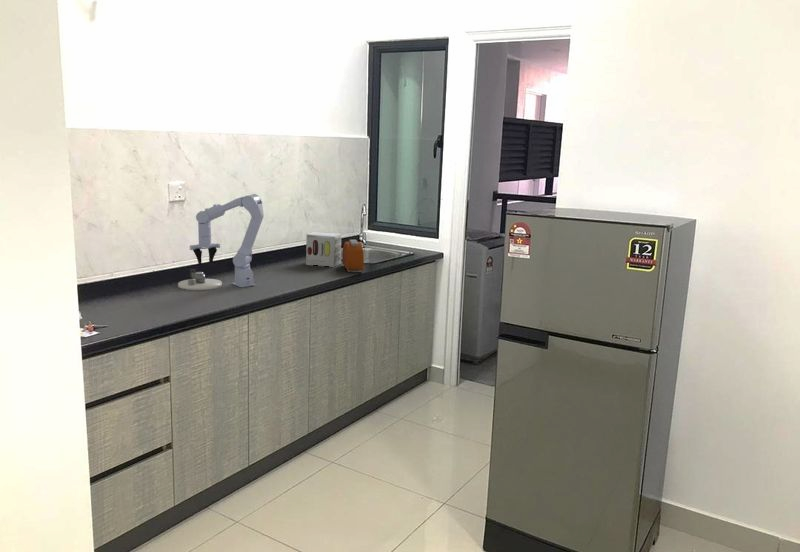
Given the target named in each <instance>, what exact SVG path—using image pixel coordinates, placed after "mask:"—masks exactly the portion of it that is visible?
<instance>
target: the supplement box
mask: <svg viewBox="0 0 800 552" xmlns="http://www.w3.org/2000/svg"><path fill="white" fill-rule="evenodd" d="M305 242H306V245H305V246H306V247H305V249H306V250H305V251H306V253H305V254H306V255H305V265H306V266H313V265H318V266H317V267H324V266H329V267H328V268H336V267H338V266H339V264H340V265H341V264H342V233H339V232H324V231H323V232H322V231H312V232H309V233H306V241H305ZM337 265H338V266H337ZM335 266H336V267H335Z"/></svg>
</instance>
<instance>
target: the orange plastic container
mask: <svg viewBox="0 0 800 552" xmlns="http://www.w3.org/2000/svg"><path fill="white" fill-rule="evenodd" d="M364 256H365V255H364V247H363V244H362V242H360V241H357V239H349V240H348V241H345V242H344V243H343V246H342V253H341V263H342V265H343V267H344V266H345V267H344V268H345V269H346V270H347V271H348V272H347V271H346V272H347V273H362V271H364V264H365V258H364Z"/></svg>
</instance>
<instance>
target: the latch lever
mask: <svg viewBox="0 0 800 552" xmlns="http://www.w3.org/2000/svg"><path fill="white" fill-rule="evenodd" d="M189 278H190V279H195V282H196V283H205V279H206V274H205V273H204V272H203V271H196V269H194V268H191V269H189Z"/></svg>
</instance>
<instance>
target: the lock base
mask: <svg viewBox="0 0 800 552" xmlns="http://www.w3.org/2000/svg"><path fill="white" fill-rule="evenodd" d="M222 286H223V282H222V281H221V280H220V279H216V278H215V279H214V278H205V283H196V282H195V278H190V279H184V280H181V281H179V282H178V283H177V287H178V288H179V289H180V288H181V290H184V289H185V291H197V290H198V291H211V290H216V289H219V288H221V287H222Z"/></svg>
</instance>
